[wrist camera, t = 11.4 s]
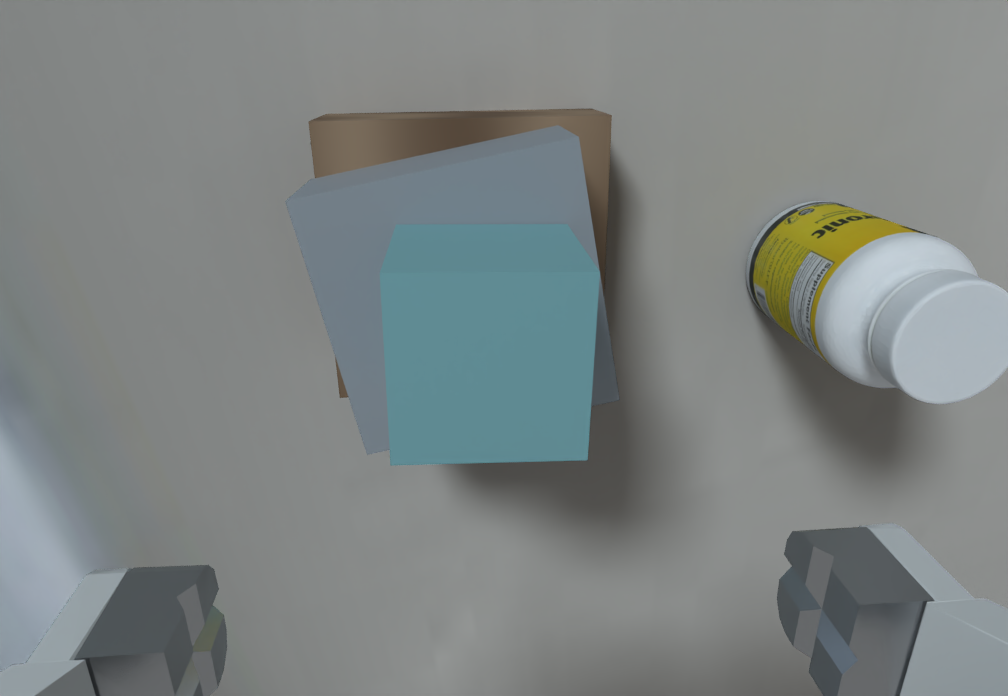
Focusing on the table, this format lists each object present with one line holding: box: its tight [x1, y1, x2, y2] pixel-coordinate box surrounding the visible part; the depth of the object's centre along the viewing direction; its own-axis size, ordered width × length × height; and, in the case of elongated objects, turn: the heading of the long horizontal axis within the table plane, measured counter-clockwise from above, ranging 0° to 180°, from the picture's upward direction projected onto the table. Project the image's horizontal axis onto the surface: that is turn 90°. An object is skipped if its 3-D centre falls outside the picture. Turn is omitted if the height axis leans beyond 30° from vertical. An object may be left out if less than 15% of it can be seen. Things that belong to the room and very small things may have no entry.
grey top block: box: [285, 125, 620, 455], centre depth 23 cm, size 8×8×4 cm
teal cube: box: [380, 224, 600, 465], centre depth 19 cm, size 5×5×5 cm
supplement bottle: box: [746, 201, 1008, 404], centre depth 25 cm, size 5×5×10 cm
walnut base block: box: [309, 109, 612, 398], centre depth 27 cm, size 10×10×4 cm
